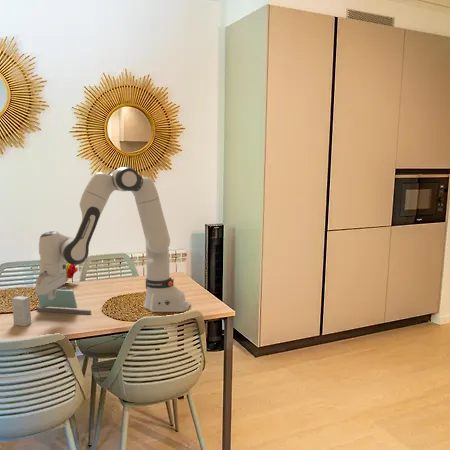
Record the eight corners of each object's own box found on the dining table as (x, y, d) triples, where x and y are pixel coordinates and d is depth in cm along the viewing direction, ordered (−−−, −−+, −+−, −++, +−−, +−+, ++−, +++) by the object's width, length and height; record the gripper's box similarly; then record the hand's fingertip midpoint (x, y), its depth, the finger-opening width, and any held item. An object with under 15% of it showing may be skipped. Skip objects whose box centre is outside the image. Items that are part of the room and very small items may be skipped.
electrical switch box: (68, 292, 256) (72, 257, 253) (41, 288, 256) (45, 253, 253) (77, 284, 271) (80, 251, 268) (51, 280, 270) (54, 247, 267)
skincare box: (31, 323, 205) (30, 296, 203) (25, 326, 201) (23, 299, 199) (20, 321, 206) (18, 295, 205) (13, 324, 202) (11, 298, 201)
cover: (73, 290, 214) (72, 291, 213) (77, 307, 219) (76, 308, 218) (36, 288, 216) (35, 289, 215) (41, 305, 221) (40, 306, 220)
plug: (69, 301, 234) (68, 287, 233) (65, 304, 230) (65, 289, 229) (61, 301, 235) (61, 286, 233) (58, 303, 231) (57, 289, 230)
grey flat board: (100, 306, 228) (99, 303, 227) (90, 314, 216) (89, 311, 216) (47, 303, 231) (47, 300, 231) (35, 311, 220) (35, 307, 220)
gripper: (45, 275, 193) (46, 307, 195) (68, 263, 213) (69, 292, 215) (30, 274, 194) (32, 306, 196) (55, 262, 214) (56, 291, 216)
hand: (52, 299), depth 206 cm, fingers closed
